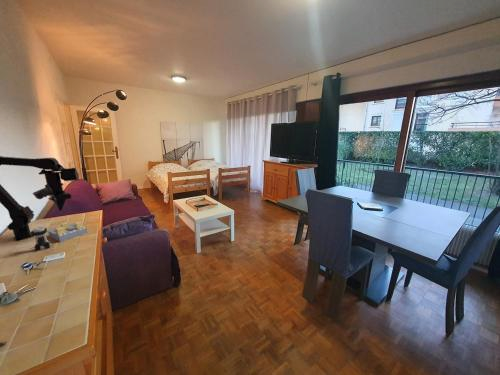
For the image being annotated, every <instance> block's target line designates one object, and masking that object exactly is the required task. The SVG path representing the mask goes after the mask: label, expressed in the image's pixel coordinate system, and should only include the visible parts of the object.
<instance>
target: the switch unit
mask: <svg viewBox="0 0 500 375" xmlns="http://www.w3.org/2000/svg"><path fill="white" fill-rule="evenodd" d="M75 223H76V222H73V223H69V225H70V228H68V229H65V233H64V234H60V235H57V234H56V230H55V229H56V228H53V229H49V230H47V233H48V236H49V237H50V238H52V239H53V240H56V241H58V242H59V243H63V242H64V241H69V240H71V239H74V238H77V237H81V236H83V235H86V234H88V229H87V227H86V226H84V227H83V228H80V229H76V228H75ZM60 227H61V226H59V227H58V228H60Z"/></svg>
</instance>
